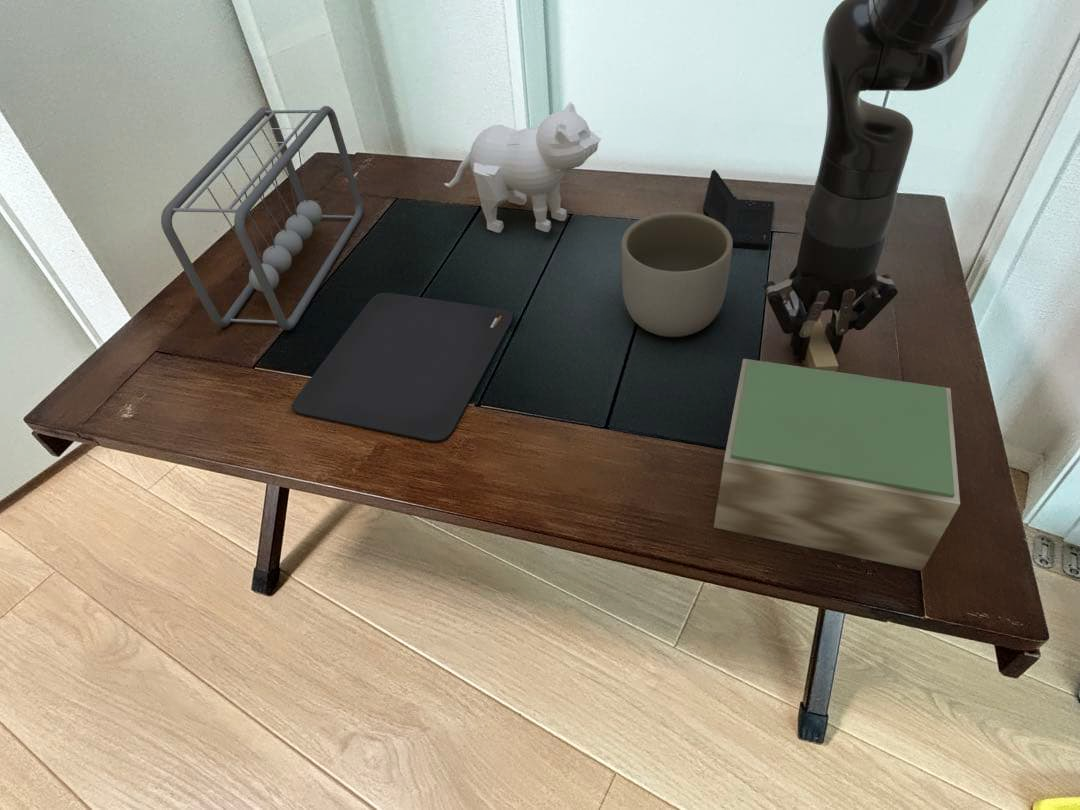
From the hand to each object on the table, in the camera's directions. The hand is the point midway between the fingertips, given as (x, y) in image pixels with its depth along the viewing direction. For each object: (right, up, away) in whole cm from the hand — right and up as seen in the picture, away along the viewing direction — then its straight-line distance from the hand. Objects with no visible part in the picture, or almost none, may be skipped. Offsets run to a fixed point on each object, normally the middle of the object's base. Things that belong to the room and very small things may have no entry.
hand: (813, 354), depth 81 cm
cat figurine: (-33, +22, +26) cm, 48 cm away
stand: (-4, -14, -12) cm, 19 cm away
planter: (-15, +5, +8) cm, 17 cm away
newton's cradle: (-66, +14, +22) cm, 71 cm away
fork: (0, +2, +3) cm, 4 cm away
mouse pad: (-47, 0, +6) cm, 48 cm away
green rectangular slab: (-5, -7, -19) cm, 21 cm away
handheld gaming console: (-3, +20, +20) cm, 28 cm away
